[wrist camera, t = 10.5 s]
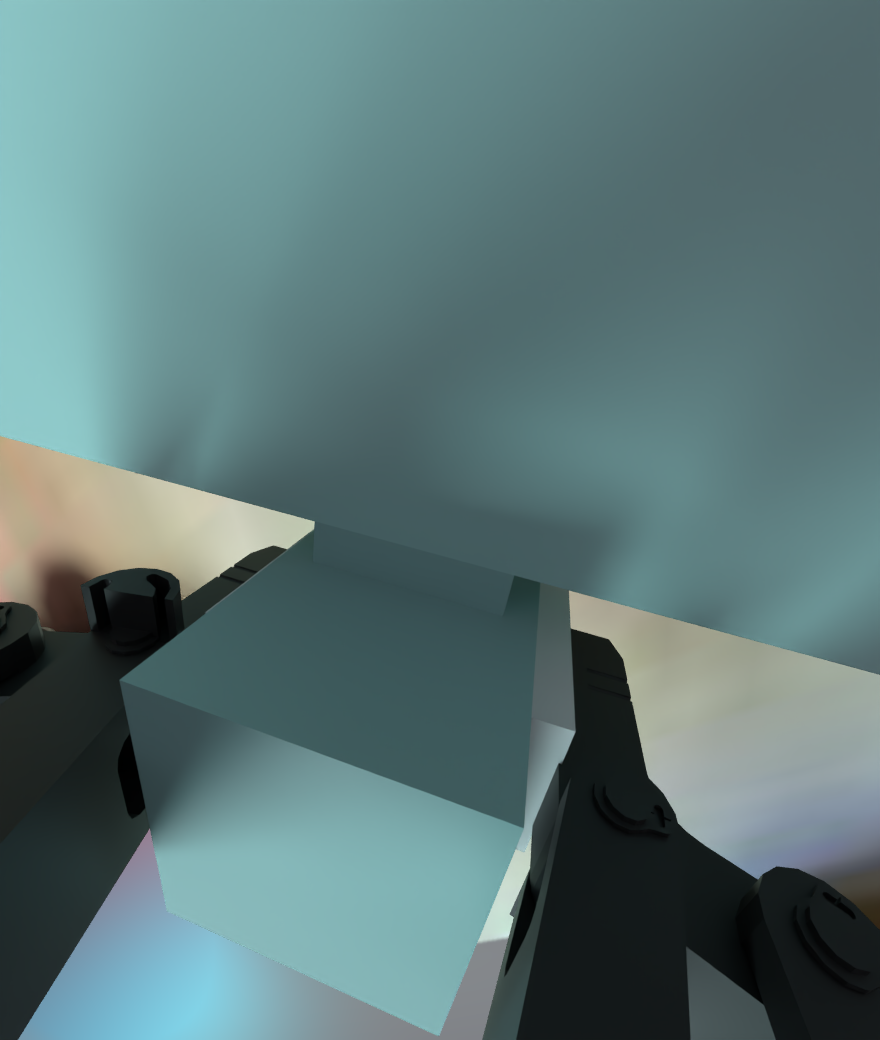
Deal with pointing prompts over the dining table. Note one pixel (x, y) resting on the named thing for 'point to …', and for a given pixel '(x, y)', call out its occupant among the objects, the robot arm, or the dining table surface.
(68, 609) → the dining table surface
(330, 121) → the lid
